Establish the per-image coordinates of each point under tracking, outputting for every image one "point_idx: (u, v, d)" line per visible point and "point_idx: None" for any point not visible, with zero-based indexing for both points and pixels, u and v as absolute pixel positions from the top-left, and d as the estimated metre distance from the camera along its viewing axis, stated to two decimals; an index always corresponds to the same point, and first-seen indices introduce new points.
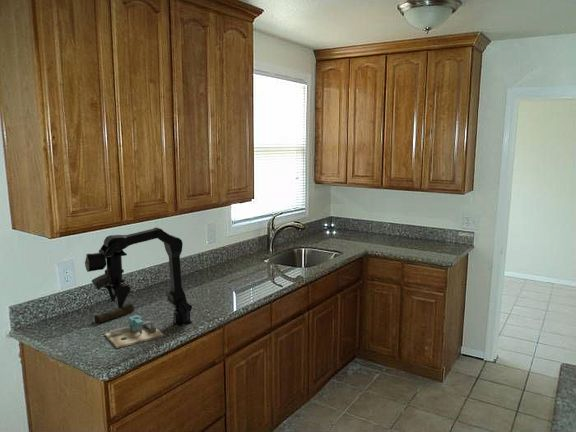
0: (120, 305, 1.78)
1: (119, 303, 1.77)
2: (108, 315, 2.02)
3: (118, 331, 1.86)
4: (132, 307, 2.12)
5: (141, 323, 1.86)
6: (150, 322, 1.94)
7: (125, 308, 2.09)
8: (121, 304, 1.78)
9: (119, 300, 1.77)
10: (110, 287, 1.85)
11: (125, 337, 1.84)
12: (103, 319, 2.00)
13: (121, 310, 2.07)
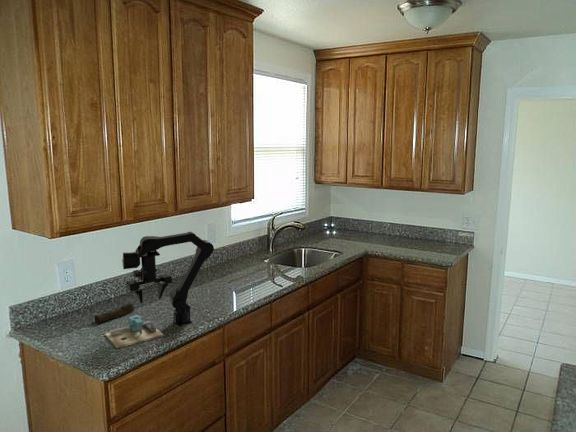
0: (140, 300, 1.91)
1: None
2: (108, 315, 2.02)
3: (118, 331, 1.86)
4: (132, 307, 2.13)
5: (141, 323, 1.86)
6: (150, 322, 1.94)
7: (125, 308, 2.09)
8: (140, 300, 1.91)
9: (137, 295, 1.90)
10: (159, 285, 1.96)
11: (125, 337, 1.84)
12: (103, 319, 2.00)
13: (121, 310, 2.07)
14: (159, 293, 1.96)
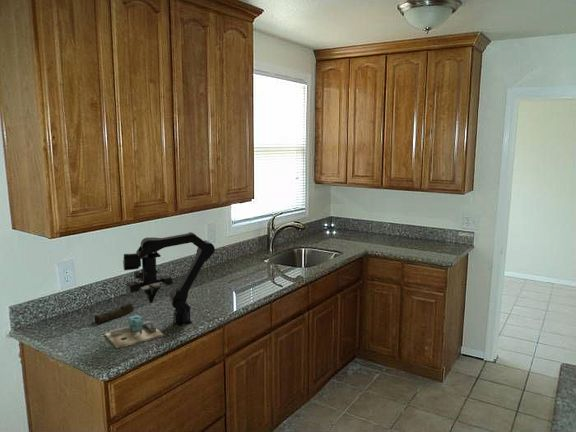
0: (149, 299, 1.94)
1: None
2: (108, 315, 2.02)
3: (118, 331, 1.86)
4: (131, 307, 2.13)
5: (141, 323, 1.86)
6: (150, 322, 1.94)
7: (125, 308, 2.09)
8: (149, 299, 1.93)
9: (147, 294, 1.93)
10: (151, 288, 1.94)
11: (125, 337, 1.84)
12: (103, 319, 2.00)
13: (121, 310, 2.07)
14: None
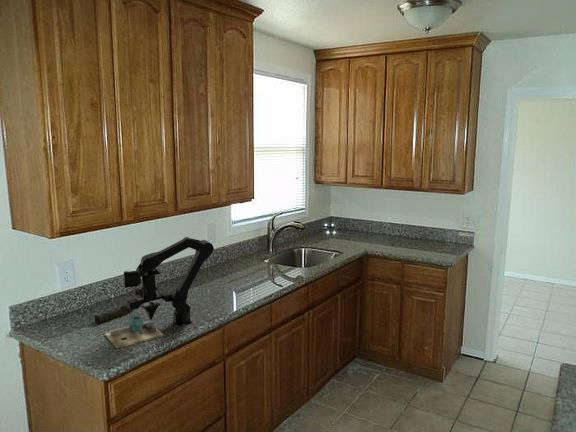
0: (149, 316, 1.95)
1: (147, 314, 1.95)
2: (108, 315, 2.02)
3: (118, 331, 1.86)
4: None
5: (141, 323, 1.86)
6: (150, 322, 1.94)
7: (125, 308, 2.09)
8: (148, 316, 1.94)
9: (146, 311, 1.94)
10: (151, 305, 1.95)
11: (125, 337, 1.84)
12: (103, 319, 2.00)
13: (121, 310, 2.07)
14: (151, 313, 1.95)
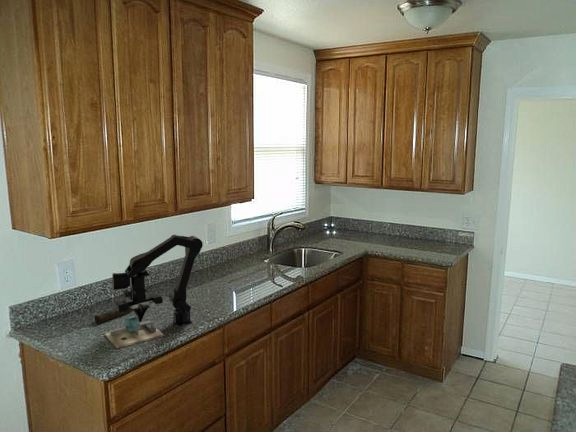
0: (138, 319, 1.92)
1: (137, 316, 1.92)
2: (108, 315, 2.02)
3: (118, 331, 1.86)
4: None
5: (137, 324, 1.85)
6: (150, 322, 1.94)
7: None
8: (138, 318, 1.91)
9: (136, 314, 1.91)
10: (140, 307, 1.92)
11: (125, 337, 1.84)
12: (103, 319, 2.00)
13: None
14: None
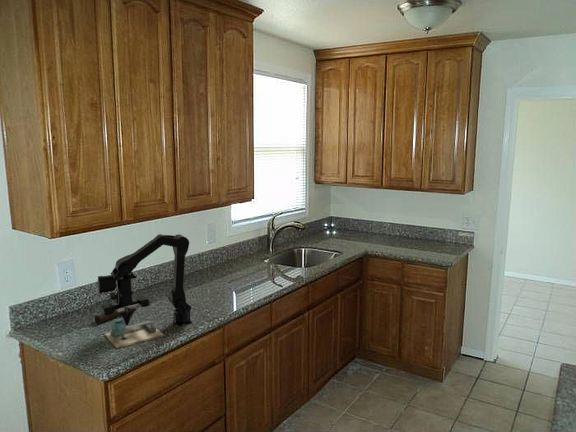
0: (125, 322, 1.88)
1: (123, 320, 1.88)
2: (108, 315, 2.02)
3: None
4: None
5: (123, 327, 1.82)
6: (150, 322, 1.94)
7: None
8: (124, 322, 1.88)
9: (122, 317, 1.88)
10: (126, 310, 1.89)
11: (125, 337, 1.84)
12: (103, 319, 2.00)
13: None
14: None
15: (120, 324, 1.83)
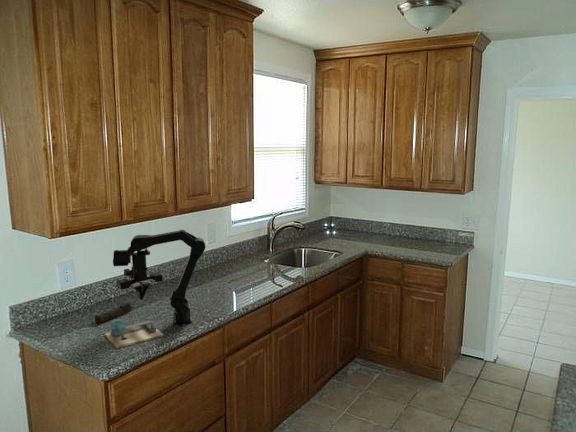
0: (139, 297, 1.95)
1: (138, 294, 1.95)
2: (108, 315, 2.02)
3: None
4: (130, 306, 2.13)
5: (123, 327, 1.82)
6: (150, 322, 1.94)
7: (124, 307, 2.09)
8: (139, 296, 1.95)
9: (137, 292, 1.95)
10: (141, 285, 1.96)
11: (125, 337, 1.84)
12: (104, 319, 2.00)
13: (120, 309, 2.08)
14: None
15: (120, 324, 1.83)
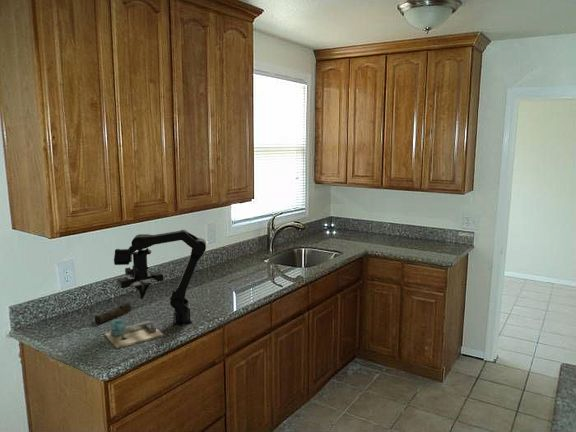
0: (140, 296, 1.96)
1: (138, 293, 1.96)
2: (108, 315, 2.02)
3: None
4: (130, 306, 2.13)
5: (123, 327, 1.82)
6: (150, 322, 1.94)
7: (124, 307, 2.09)
8: (140, 295, 1.96)
9: None
10: (142, 284, 1.96)
11: (125, 337, 1.84)
12: (104, 319, 2.00)
13: (120, 309, 2.08)
14: (142, 292, 1.96)
15: (120, 324, 1.83)
